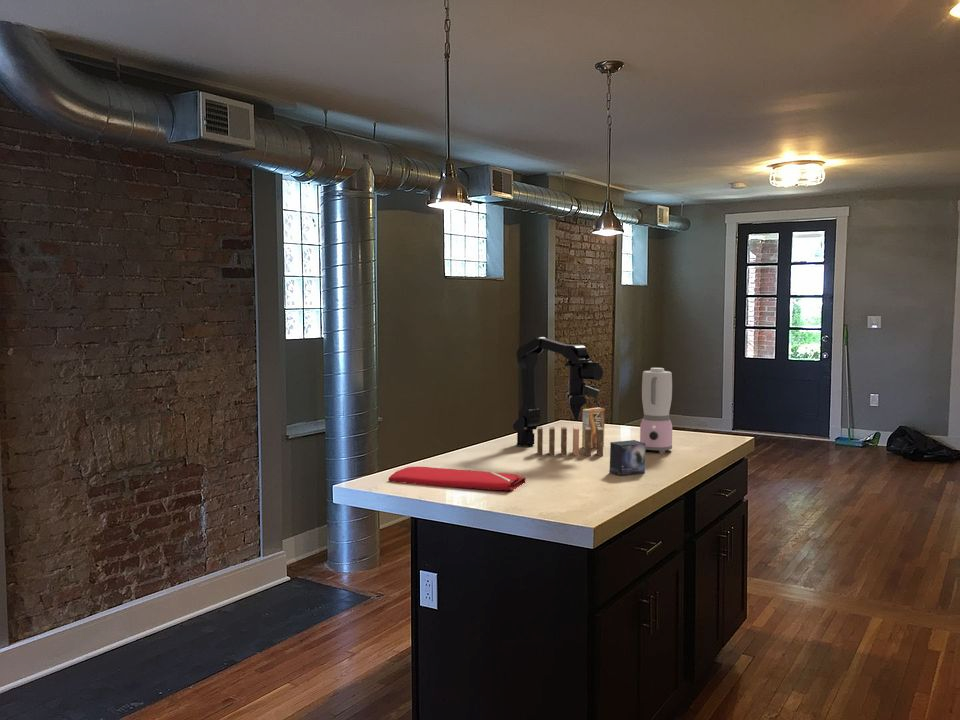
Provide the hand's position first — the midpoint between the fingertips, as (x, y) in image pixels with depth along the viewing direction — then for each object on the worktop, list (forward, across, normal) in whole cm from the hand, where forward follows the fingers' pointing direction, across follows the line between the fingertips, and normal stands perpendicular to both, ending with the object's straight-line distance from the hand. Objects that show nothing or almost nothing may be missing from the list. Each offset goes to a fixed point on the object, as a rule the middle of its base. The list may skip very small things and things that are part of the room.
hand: (576, 420), depth 297 cm
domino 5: (+13, 0, -4) cm, 14 cm away
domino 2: (+13, 0, +9) cm, 16 cm away
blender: (+13, +8, -31) cm, 35 cm away
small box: (+13, -32, -15) cm, 38 cm away
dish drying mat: (+14, -49, +41) cm, 65 cm away
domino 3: (+13, 0, +4) cm, 14 cm away
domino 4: (+13, 0, 0) cm, 13 cm away
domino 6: (+13, 0, -9) cm, 16 cm away
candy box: (+13, +16, -8) cm, 22 cm away
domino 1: (+13, 0, +14) cm, 19 cm away
